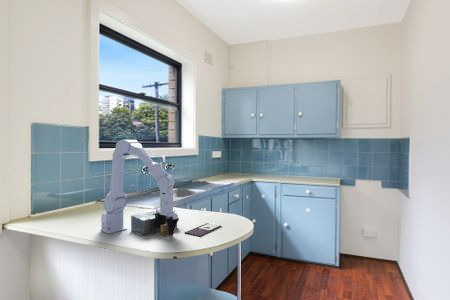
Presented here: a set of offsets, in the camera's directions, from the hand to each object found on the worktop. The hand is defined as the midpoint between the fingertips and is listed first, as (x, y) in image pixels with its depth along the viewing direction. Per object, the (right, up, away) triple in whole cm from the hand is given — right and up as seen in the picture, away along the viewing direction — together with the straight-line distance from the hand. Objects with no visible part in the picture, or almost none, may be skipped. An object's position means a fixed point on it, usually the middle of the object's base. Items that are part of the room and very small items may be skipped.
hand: (166, 232), depth 127 cm
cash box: (-8, -1, +9) cm, 12 cm away
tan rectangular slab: (0, -2, 0) cm, 2 cm away
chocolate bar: (+16, -2, +8) cm, 18 cm away
